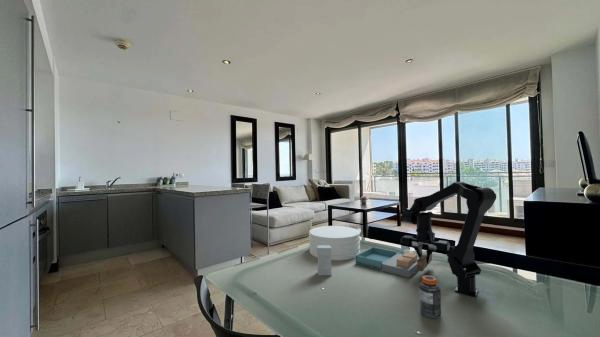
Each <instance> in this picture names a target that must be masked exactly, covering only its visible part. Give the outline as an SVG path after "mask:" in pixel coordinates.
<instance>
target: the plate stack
mask: <svg viewBox="0 0 600 337" xmlns="http://www.w3.org/2000/svg"><path fill="white" fill-rule="evenodd" d="M308 234H309V238H308V239H309V254H310V253H311V254H310V255H312V256H313V257H315V258H316V259H318V257H317V246H318V245H330V246H331V261H347V260H351V259H352V260H353V259H356V255H358V254H359V253H361V241H360V240H361V237H360V235H361V232H360V230H359V229H357V228H354V227H351V226H350V227H349V226H343V225H325V226H317V227H314V228H312V229H310V230H309V232H308Z"/></svg>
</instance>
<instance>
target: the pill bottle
mask: <svg viewBox="0 0 600 337" xmlns="http://www.w3.org/2000/svg"><path fill="white" fill-rule="evenodd" d="M421 279H422V280H421V282H419V285H418V286H419V287H418V288H419V289H418V293H419V295H418V296H419V312H420V313H421V314H422V315H423V316H424V317H427V318H429V319H439V318H440V317H442V302H441V287H440V285H438V284H437V278H436V277H435V276H432V275H422V278H421Z"/></svg>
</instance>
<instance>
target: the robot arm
mask: <svg viewBox="0 0 600 337" xmlns="http://www.w3.org/2000/svg"><path fill="white" fill-rule="evenodd" d="M456 195H458V196H460V197H461V198H463V199H466V202H465V204H466V206H467V209H468V210H467V214H466V216H465V220H464V223H463V226H462V229H461V232H460V235H459V239H458V242H457V244H456V245H453V246H452V245H451V243H450V242H449V241H447V240H438V241H435V239H436V233H435V232H434V231H433V228H432V219H433V218H435V217H436V215H435V214H434V213H433V211H432V210H433V209H435V208H437V206H438V205H439V203H441V202H443V201H444V202H445V201H447V200H449V199H450V198H453V197H456ZM496 200H497V194H496V192H495V190H494V189H492V188H490V187H481V186H477V185H473V184H470V183H467V182H464V181H454V182H452V183H451V184H449V185H448V186H446V187H443V188H442V189H440V190H438V191H436V192H434V193H432V194H430V195H426V196H421V197H417V198H415V199H414V200H413V203H412V205H411V207H410V208H409V207H404V211H403V212H402V213H401V216H400V217H401V220H402V222H404V223H407V224H410V225H416V229H415V231H416V238H414V235H409V234H408V235H407V234H405V235H403V236H402V237H401V238H400V244H402V245H409V244H410V243H411V248H413V249H414V251H415V252H416V255H417V257H418V258H420V257H421V256H422V255H423V245H424V246H428V247H427V248H426V251H427V263H429V260H430V257H431V255H432V256H433V253H434V252H436V251H437V250H438V251H442V252H448V253H447V254H446V257H447V263H448V264H449V267H450V270H451V273H452V275H454V276H456V283H457V284H456V287H455V289H454V292H456V293H460V294H464V295H468V296H472V297H477V295H478V293H479V292H478V291H479V288H476V286H477V282H476V276H479V275H481V273H482V269H481V267H480V266H479V265H478V264H477V262H476V261H475V258H476V257H475V252H474V246H475V243H476V241H477V238H478V234H479V232H480V228H481V225H482V222H483V220H484V216H485V214H486V213H487V212H488V211H489V210H490V209H491V208H492V207H493V205H494V203H495V201H496ZM429 264H430V263H429Z"/></svg>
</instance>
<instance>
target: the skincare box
mask: <svg viewBox="0 0 600 337" xmlns="http://www.w3.org/2000/svg"><path fill="white" fill-rule="evenodd" d="M317 257H318V258H317ZM317 257H316V258H317V276H332V274H333V273H332V272H333V271H332V260H331V246H330V245H318V246H317Z"/></svg>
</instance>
